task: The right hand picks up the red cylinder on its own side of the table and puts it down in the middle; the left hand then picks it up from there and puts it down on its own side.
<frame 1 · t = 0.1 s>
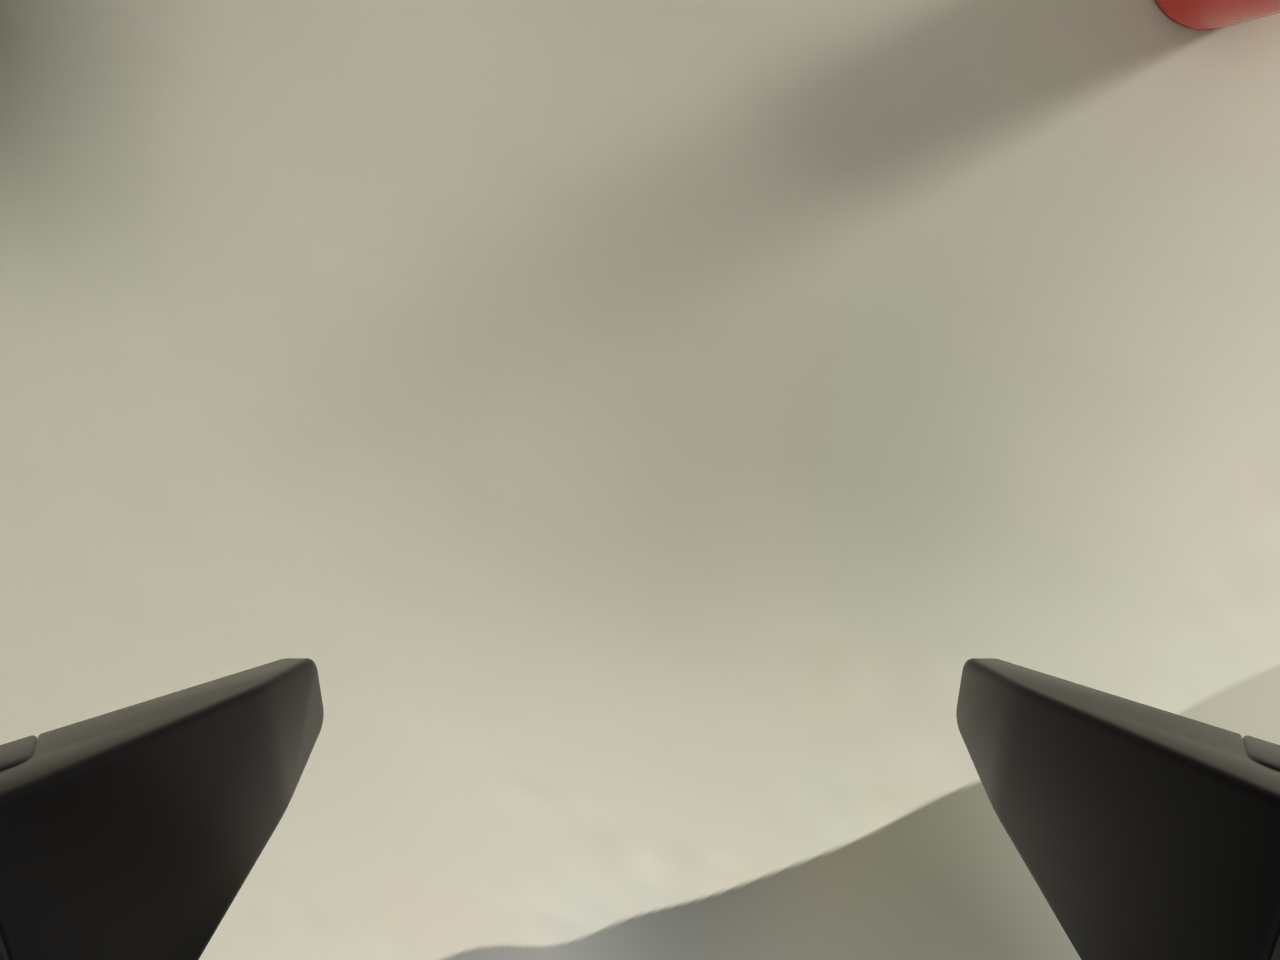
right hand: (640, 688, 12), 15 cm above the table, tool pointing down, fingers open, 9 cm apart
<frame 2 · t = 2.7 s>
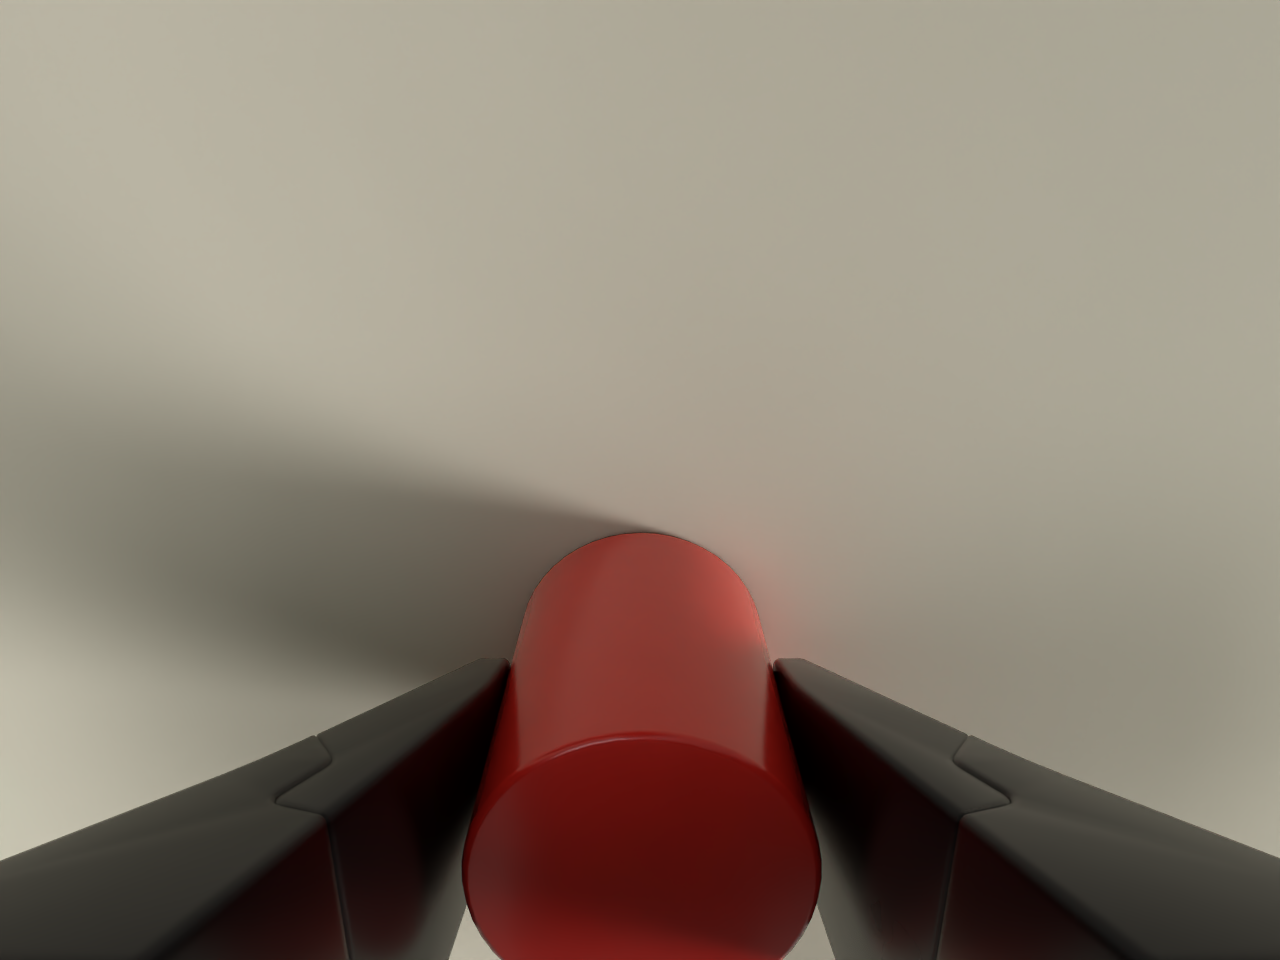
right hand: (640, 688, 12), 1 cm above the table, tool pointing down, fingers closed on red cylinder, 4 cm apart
red cylinder: (641, 639, 13), on the table, touching right hand
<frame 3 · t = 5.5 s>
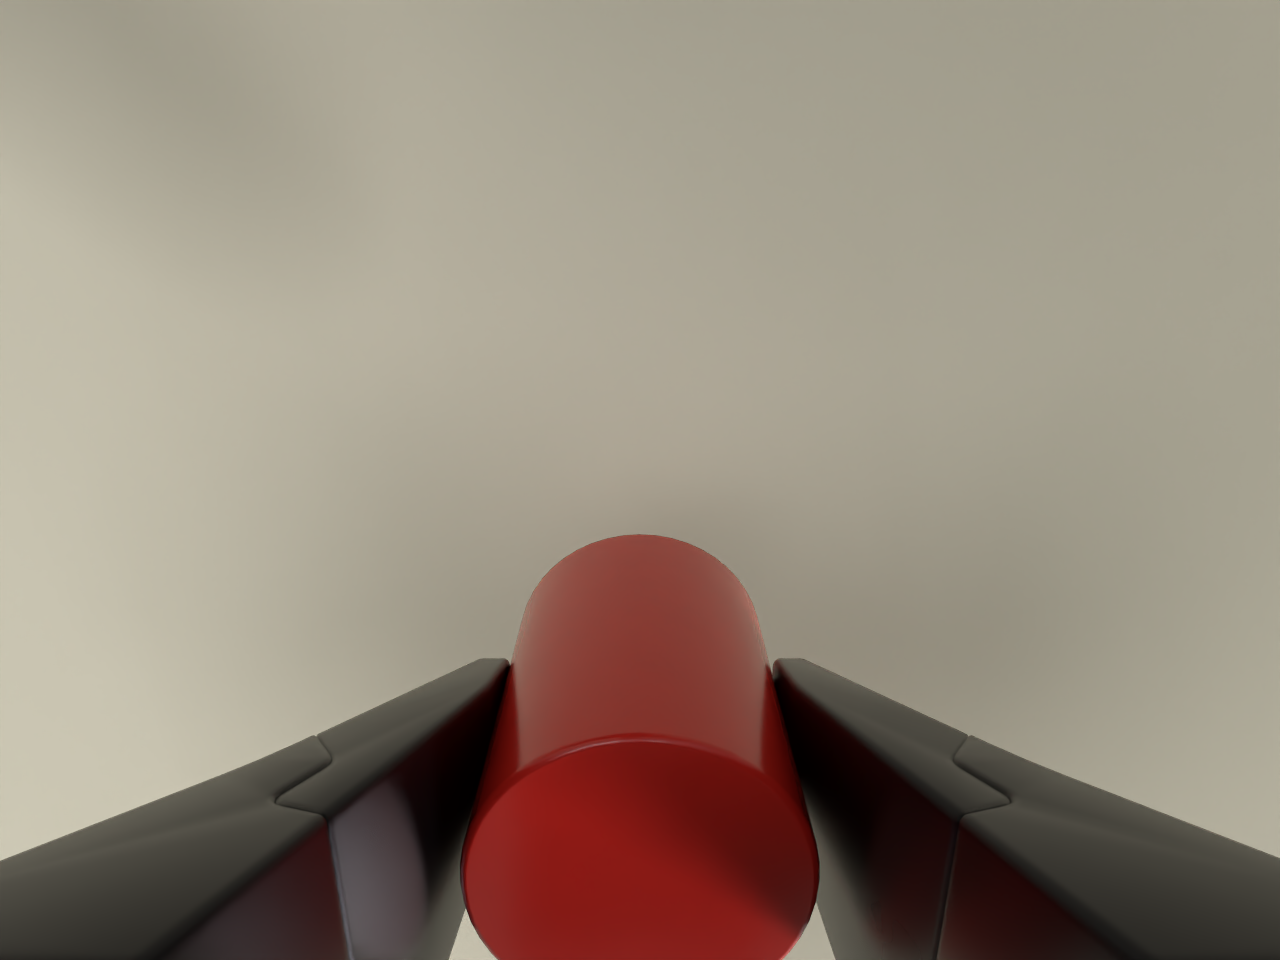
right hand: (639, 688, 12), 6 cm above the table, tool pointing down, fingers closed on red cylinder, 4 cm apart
red cylinder: (639, 640, 13), point 5 cm above the table, touching right hand
when the right hand's fingers open (2 cm above the table, at t = 8.7 s): red cylinder stays where it is, on the table.
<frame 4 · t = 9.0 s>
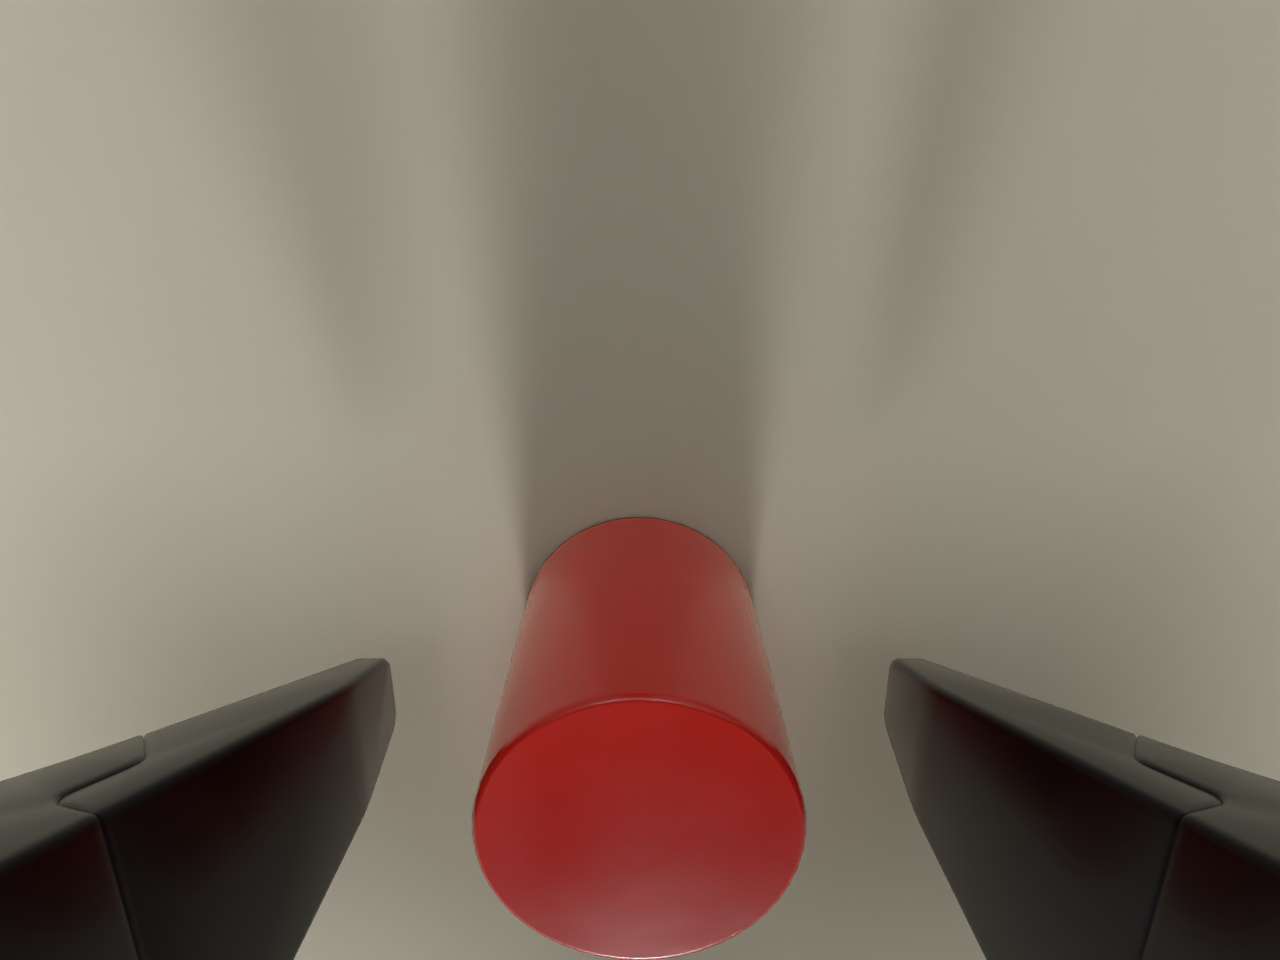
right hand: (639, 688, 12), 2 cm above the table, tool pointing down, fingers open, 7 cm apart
red cylinder: (639, 619, 13), on the table
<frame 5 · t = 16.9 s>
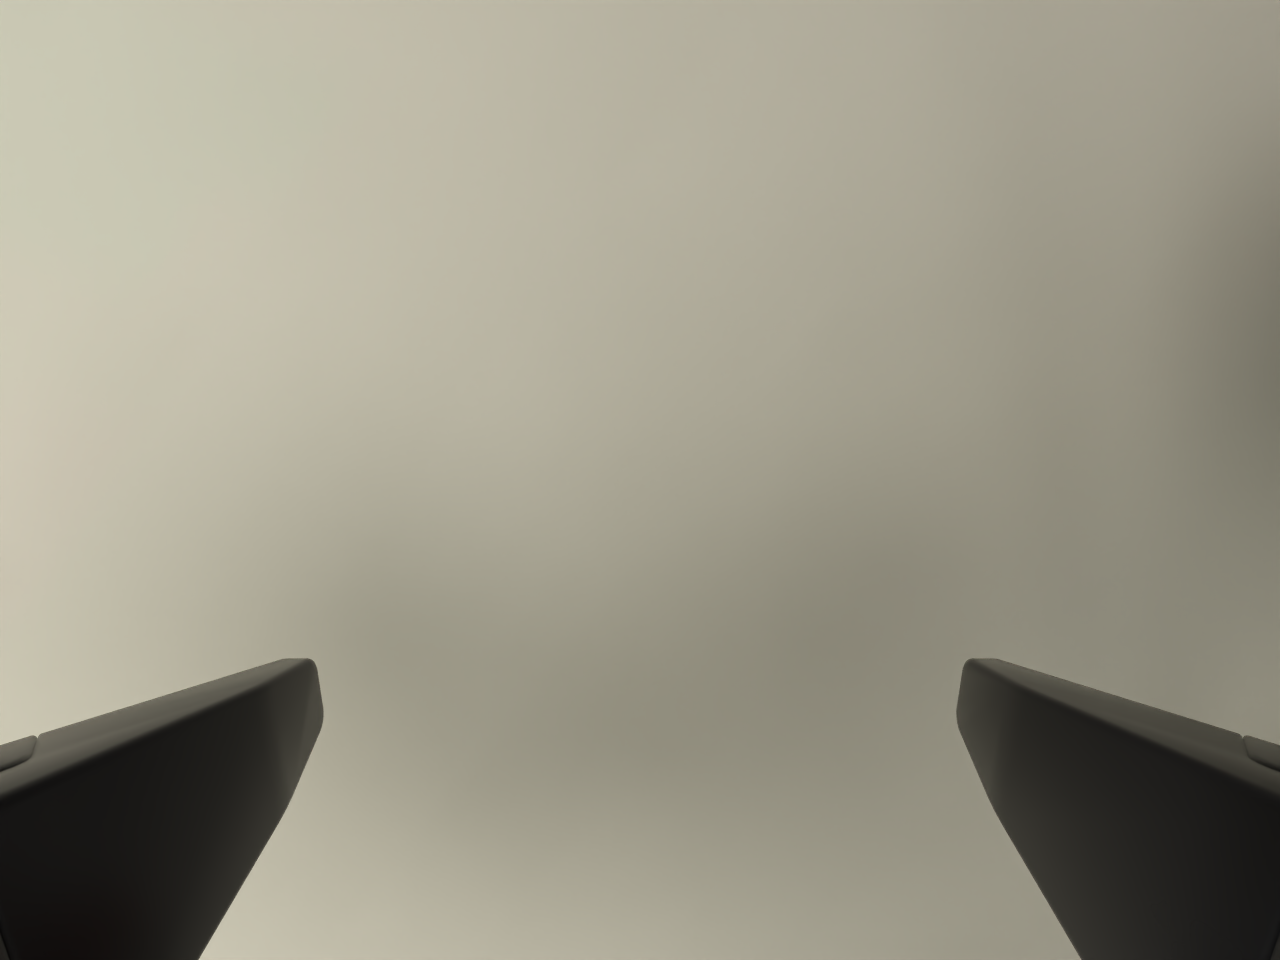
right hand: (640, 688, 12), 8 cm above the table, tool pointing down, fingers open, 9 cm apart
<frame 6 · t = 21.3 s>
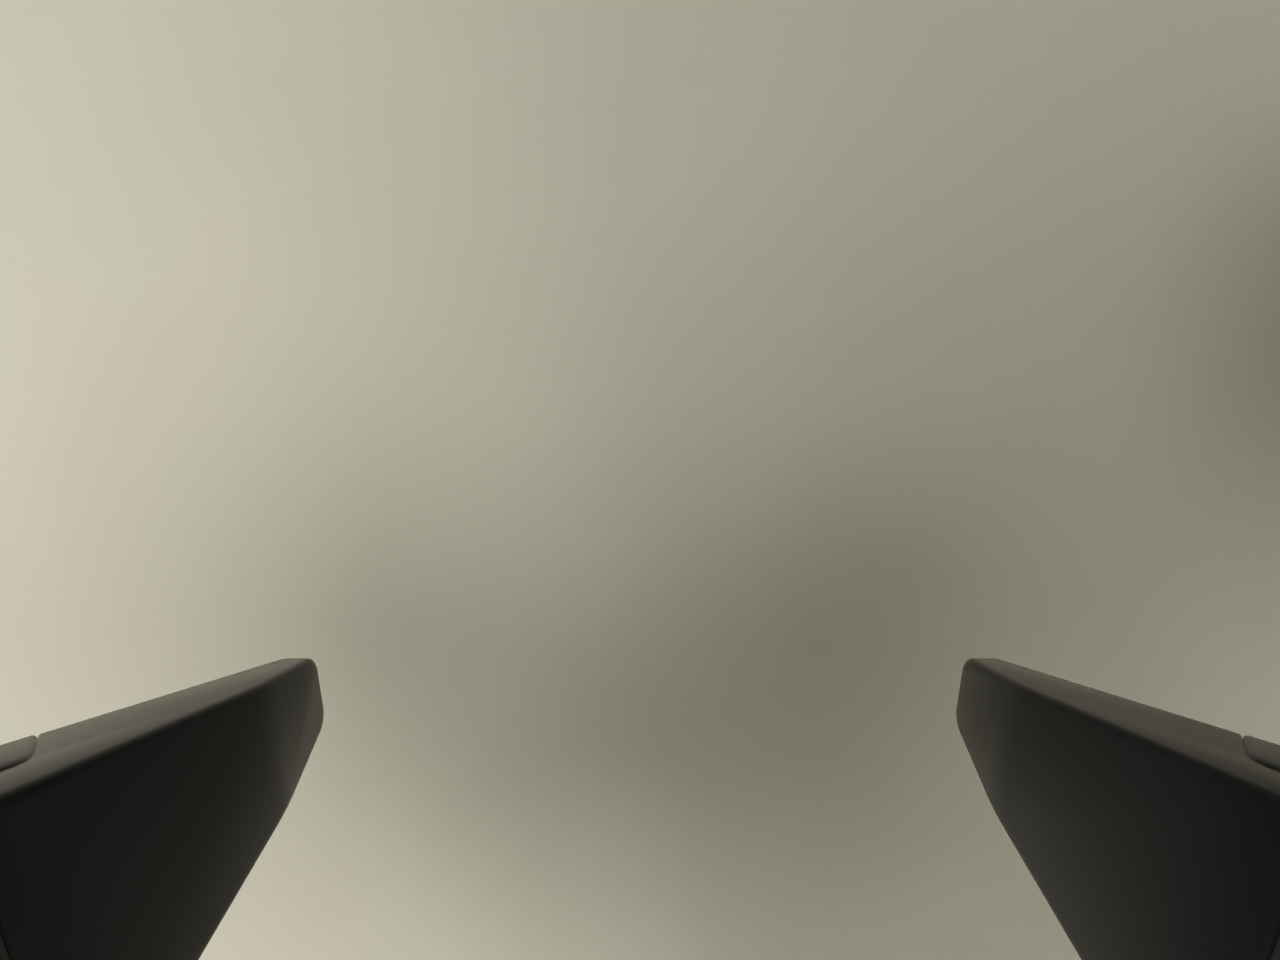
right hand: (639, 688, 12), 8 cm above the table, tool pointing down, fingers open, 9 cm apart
when the left hand's fingers open (1 cm above the table, at t = 25.6 s): red cylinder stays where it is, on the table.
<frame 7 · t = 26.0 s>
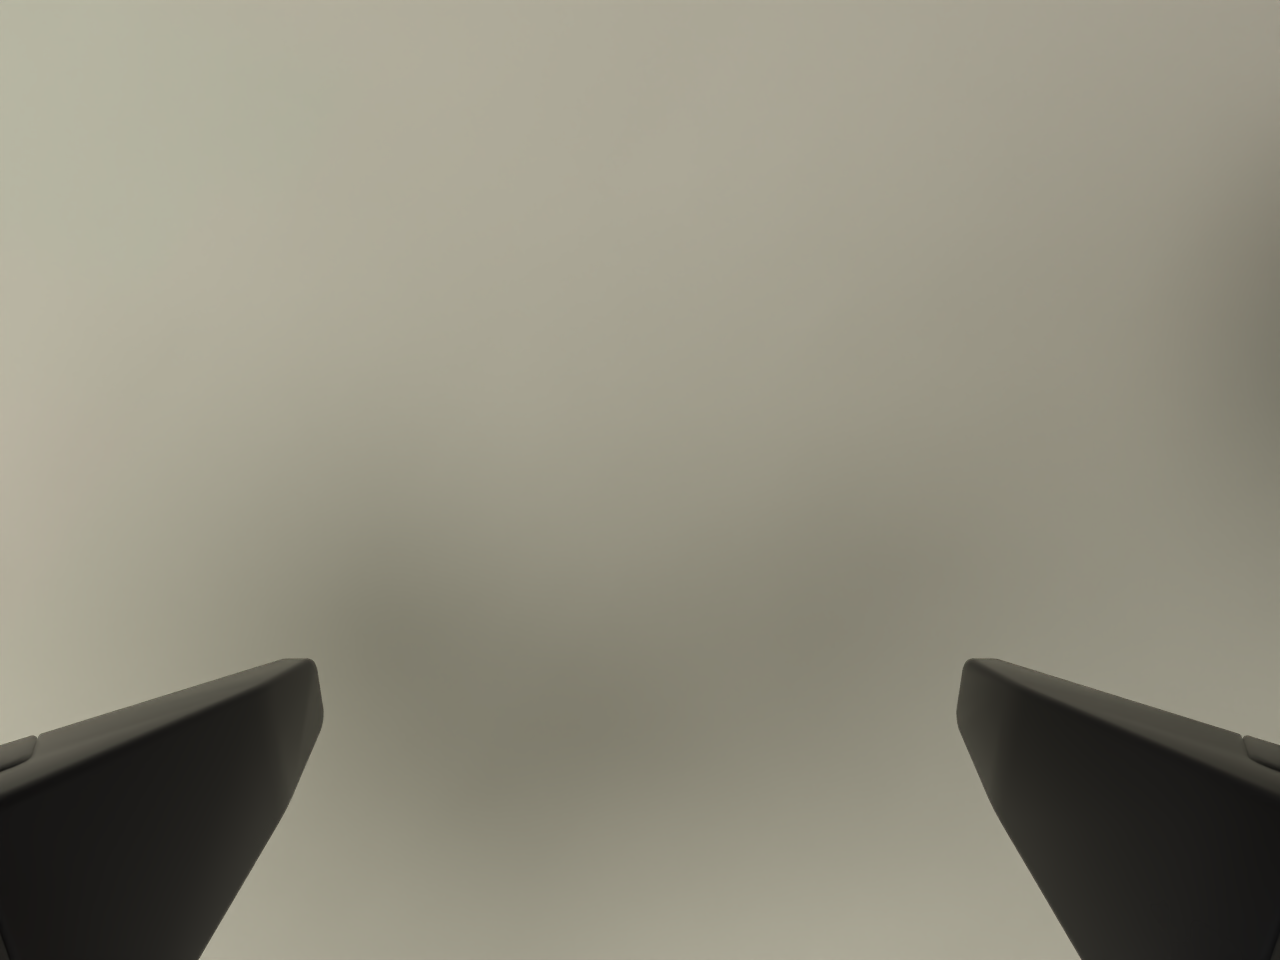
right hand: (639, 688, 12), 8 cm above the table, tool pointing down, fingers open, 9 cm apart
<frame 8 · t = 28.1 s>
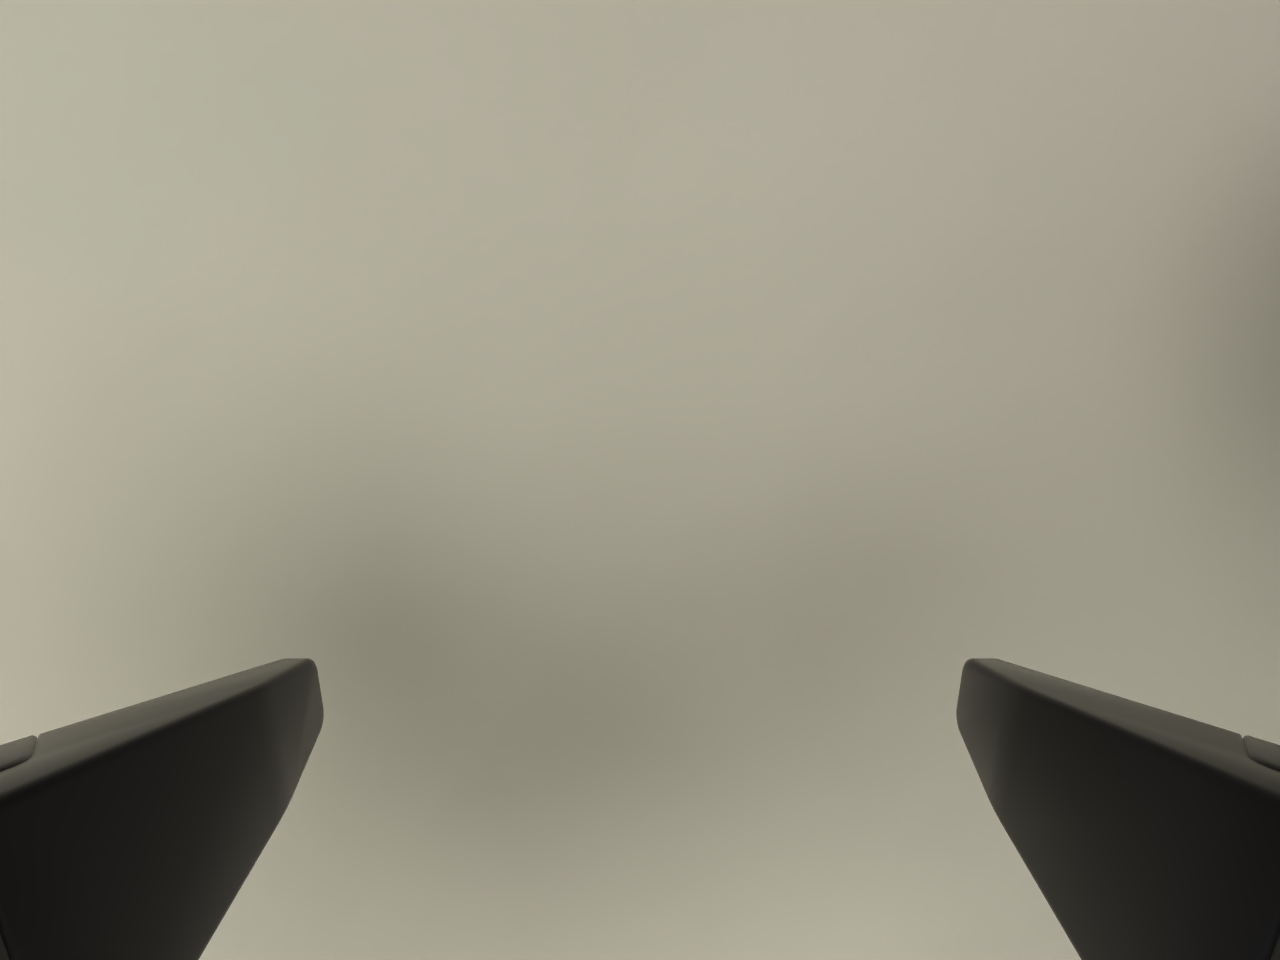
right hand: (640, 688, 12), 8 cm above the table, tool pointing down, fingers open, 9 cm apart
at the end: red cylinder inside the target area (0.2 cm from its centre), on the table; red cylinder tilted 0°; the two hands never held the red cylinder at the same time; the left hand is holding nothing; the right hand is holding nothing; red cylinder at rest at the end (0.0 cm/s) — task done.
